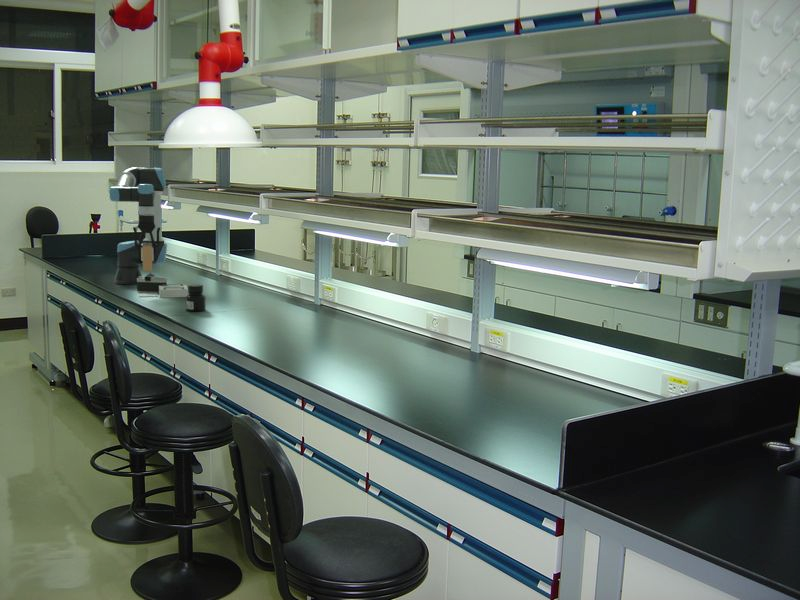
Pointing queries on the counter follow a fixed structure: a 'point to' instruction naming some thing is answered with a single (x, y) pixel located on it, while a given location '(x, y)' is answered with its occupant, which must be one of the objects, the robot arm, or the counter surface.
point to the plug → (147, 256)
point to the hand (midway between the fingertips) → (147, 260)
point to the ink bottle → (195, 298)
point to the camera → (150, 283)
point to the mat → (148, 295)
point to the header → (173, 290)
